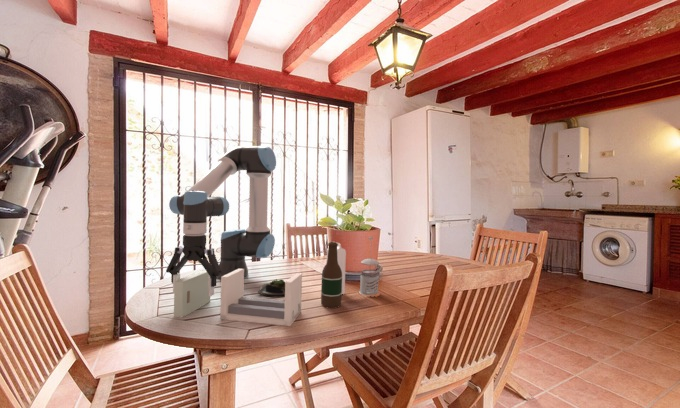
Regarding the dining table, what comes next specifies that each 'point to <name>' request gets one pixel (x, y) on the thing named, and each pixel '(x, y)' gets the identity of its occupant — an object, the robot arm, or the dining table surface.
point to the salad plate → (273, 289)
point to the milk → (341, 263)
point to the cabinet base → (238, 290)
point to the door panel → (190, 293)
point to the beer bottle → (331, 279)
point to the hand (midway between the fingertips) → (193, 293)
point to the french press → (369, 287)
